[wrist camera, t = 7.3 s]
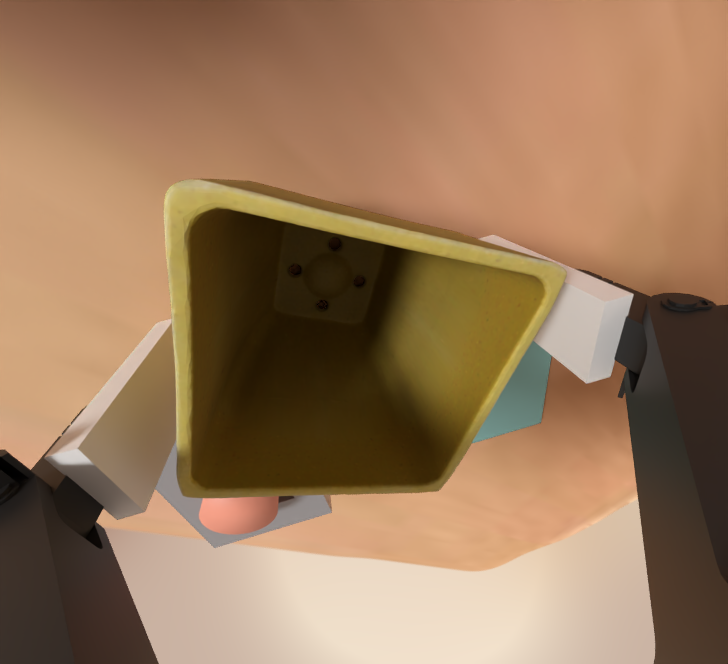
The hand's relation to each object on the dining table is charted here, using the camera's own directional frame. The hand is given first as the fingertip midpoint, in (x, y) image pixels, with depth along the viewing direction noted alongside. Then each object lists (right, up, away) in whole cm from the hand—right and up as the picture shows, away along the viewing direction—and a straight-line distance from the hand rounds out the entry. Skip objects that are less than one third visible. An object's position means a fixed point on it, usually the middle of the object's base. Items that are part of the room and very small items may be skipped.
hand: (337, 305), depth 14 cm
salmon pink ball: (-6, -9, +7) cm, 13 cm away
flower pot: (-1, +2, +2) cm, 3 cm away
